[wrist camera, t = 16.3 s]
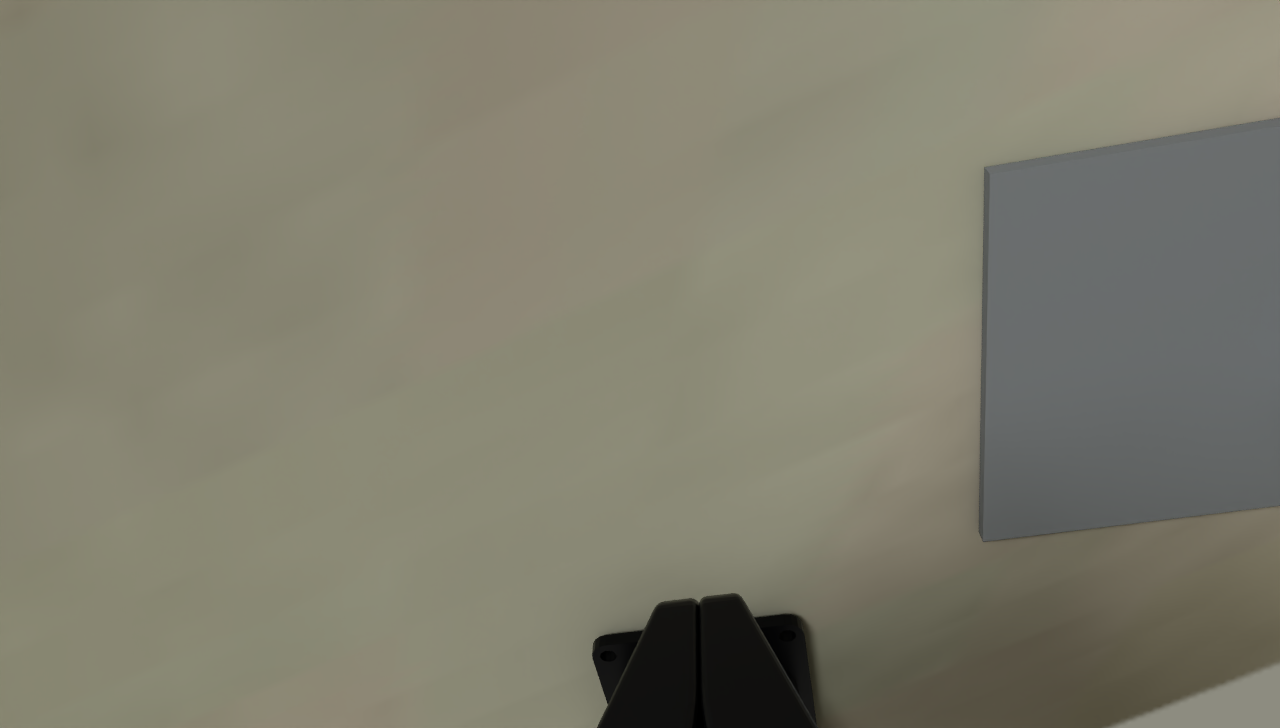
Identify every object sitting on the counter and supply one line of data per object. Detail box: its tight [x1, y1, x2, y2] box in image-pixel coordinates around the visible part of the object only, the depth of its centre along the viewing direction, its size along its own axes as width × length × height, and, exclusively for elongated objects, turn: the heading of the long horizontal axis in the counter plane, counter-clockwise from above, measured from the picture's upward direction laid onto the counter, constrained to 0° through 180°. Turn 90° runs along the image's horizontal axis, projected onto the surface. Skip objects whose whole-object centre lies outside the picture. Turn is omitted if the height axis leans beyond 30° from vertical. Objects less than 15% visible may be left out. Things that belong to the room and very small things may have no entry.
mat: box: [979, 118, 1280, 542], centre depth 22 cm, size 11×13×1 cm
